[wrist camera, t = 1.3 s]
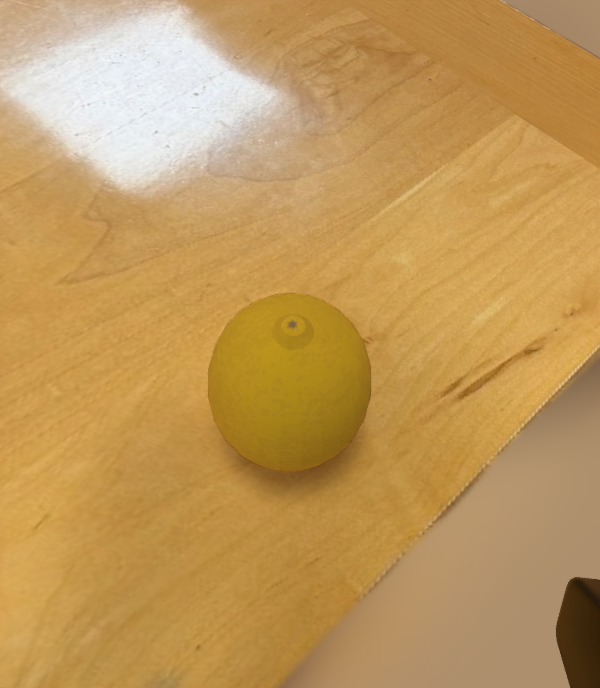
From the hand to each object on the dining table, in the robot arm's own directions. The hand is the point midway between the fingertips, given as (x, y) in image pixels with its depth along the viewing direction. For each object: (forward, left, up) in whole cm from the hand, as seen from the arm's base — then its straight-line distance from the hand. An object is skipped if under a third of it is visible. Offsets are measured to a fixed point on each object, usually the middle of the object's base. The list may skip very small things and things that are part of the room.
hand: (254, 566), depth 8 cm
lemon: (+7, +1, -13) cm, 15 cm away
